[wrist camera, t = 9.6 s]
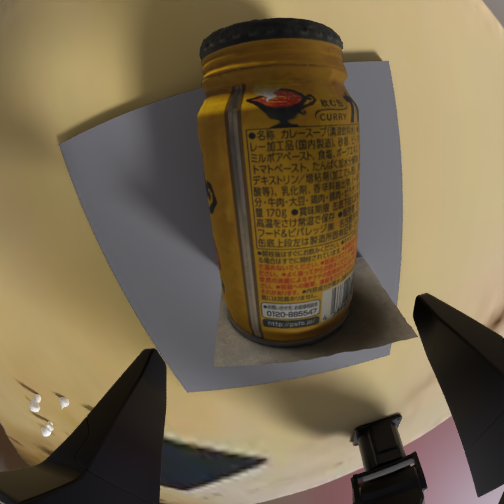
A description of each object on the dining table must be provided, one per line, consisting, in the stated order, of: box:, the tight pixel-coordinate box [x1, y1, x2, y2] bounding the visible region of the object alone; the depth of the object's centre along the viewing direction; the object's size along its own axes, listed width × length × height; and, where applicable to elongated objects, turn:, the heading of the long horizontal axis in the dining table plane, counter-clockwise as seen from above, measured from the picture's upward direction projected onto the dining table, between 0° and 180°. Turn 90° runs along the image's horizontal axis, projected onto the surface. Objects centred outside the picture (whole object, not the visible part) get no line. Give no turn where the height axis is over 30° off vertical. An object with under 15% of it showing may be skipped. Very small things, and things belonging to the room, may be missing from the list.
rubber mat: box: [59, 61, 403, 392], centre depth 18 cm, size 22×18×1 cm
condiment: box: [197, 18, 418, 367], centre depth 11 cm, size 7×8×12 cm
